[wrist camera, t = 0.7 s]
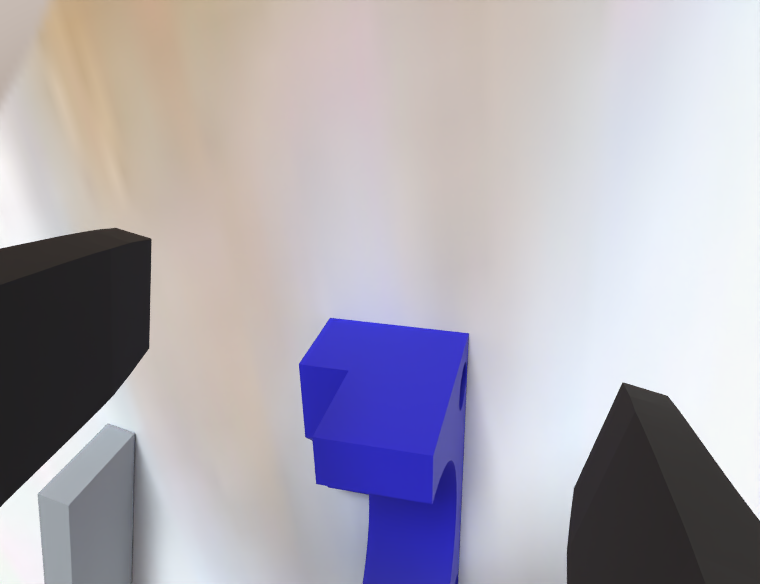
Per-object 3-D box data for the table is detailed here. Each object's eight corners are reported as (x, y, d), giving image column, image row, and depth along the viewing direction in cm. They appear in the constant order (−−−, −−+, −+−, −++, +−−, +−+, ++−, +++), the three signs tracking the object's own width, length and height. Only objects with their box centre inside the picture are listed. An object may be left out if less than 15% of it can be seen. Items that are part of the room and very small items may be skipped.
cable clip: (332, 315, 22) (255, 428, 17) (469, 330, 21) (433, 456, 16) (347, 574, 27) (293, 719, 22) (457, 596, 26) (428, 755, 21)
